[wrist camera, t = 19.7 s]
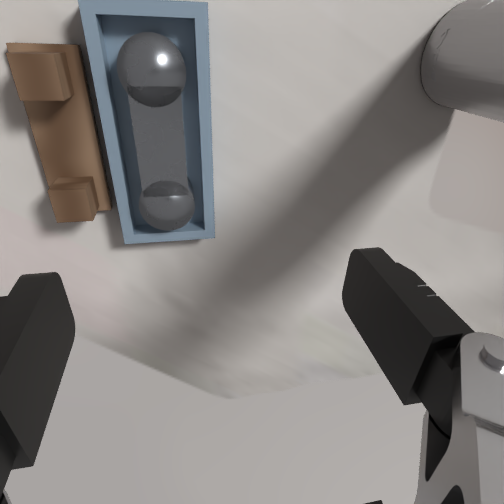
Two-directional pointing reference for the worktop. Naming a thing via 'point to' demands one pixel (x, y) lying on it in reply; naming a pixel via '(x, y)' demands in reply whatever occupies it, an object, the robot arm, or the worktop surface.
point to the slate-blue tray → (118, 110)
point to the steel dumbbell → (158, 127)
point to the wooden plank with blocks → (62, 126)
